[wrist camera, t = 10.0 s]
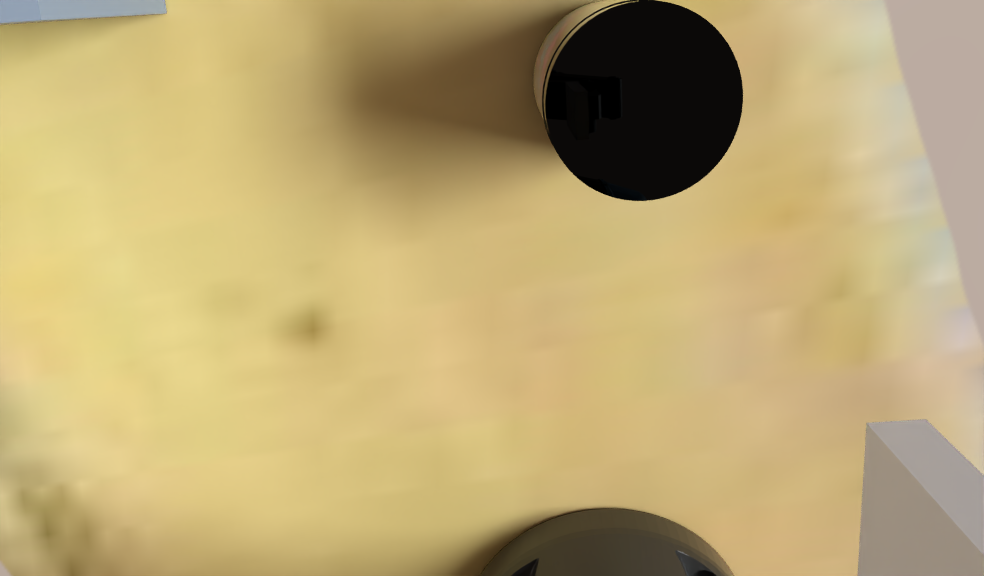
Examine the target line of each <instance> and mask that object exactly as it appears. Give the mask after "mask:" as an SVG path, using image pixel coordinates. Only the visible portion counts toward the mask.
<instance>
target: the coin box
mask: <svg viewBox="0 0 984 576" xmlns="http://www.w3.org/2000/svg"><path fill="white" fill-rule="evenodd" d="M165 13H167V11H166V4H165V0H0V25H4V24H18V23H33V22H48V21H62V20H77V19H92V18H106V17H121V16H136V15H150V14H165Z"/></svg>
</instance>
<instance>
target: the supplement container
mask: <svg viewBox="0 0 984 576" xmlns="http://www.w3.org/2000/svg"><path fill="white" fill-rule="evenodd" d="M533 87H534V94H535V99H536V103H537V106H538V109H539V111H540V113H541V115H542V118H543V120H544V123H545V127H546V130H547V133H548V136H549V138H550V140H551V143H552V145H553V146H554V148H555V150H556V152H557V153H558V155H559V157H560V158H561V160H562V161H563V163H564V164H565V165H566V167H567V168H568V169H569V170H570V171H571V172H572V173H573V174H574V175H575V176H576V177H577V178H578V179H579V180H581V181H582V182H583V183H585V184H586V185H587V186H589V187H591V188H593V189H594V190H596V191H598V192H600V193H603V194H605V195H608V196H611V197H614V198H618V199H623V200H632V201H647V200H655V199H660V198H665V197H668V196H671V195H674V194H677V193H679V192H681V191H683V190H685V189H687V188H689V187H691V186H692V185H694V184H696V183H697V182H699V181H700V180H701V179H702V178H704V177H705V176H706V175H707V174H708V173H709V172H710V171H711V170H712V169H713V168H714V167H715V166H716V165H717V164H718V163H719V162H720V160H721V159H722V158H723V156H724V155H725V153H726V152H727V150H728V148H729V147H730V145H731V143H732V141H733V139H734V136H735V134H736V132H737V129H738V125H739V122H740V118H741V113H742V104H743V88H742V79H741V74H740V70H739V67H738V64H737V61H736V58H735V56H734V54H733V52H732V50H731V48H730V46H729V45H728V43H727V42H726V40H725V39H724V37H723V36H722V35H721V34H720V33H719V31H718V30H717V29H716V28H715V27H714V26H713V25H712V24H710V23H709V22H708V21H707V20H706V19H704V18H703V17H701V16H700V15H698V14H697V13H695V12H693V11H691V10H689V9H687V8H684V7H682V6H679V5H676V4H672V3H668V2H662V1H656V0H627V1H622V0H605V1H598V2H594V3H590V4H587V5H584V6H582V7H579V8H577V9H576V10H574V11H572V12H570V13H569V14H567V15H566V16H565V17H564V18H562V19H561V20H560V21H559V22H558V23H557V24H556V25H555V26H554V27H553V28H552V29H551V31H550V32H549V33H548V35H547V36H546V38H545V39H544V41H543V43H542V45H541V47H540V50H539V52H538V55H537V58H536V61H535V66H534V74H533Z"/></svg>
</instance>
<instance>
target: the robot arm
mask: <svg viewBox="0 0 984 576" xmlns="http://www.w3.org/2000/svg"><path fill="white" fill-rule="evenodd" d="M480 576H734V575H733V573H732V571H731V570H730V568H729V566H728V565H727V564H726V562H725V561H724V560H723V558H722V557H721V556H720V555H719V554H718V553H717V552H716V551H715V550H714V549H713V548H712V547H711V546H710V545H709V544H708V543H707V542H706V541H704V540H703V539H702V538H701V537H699V536H698V535H696V534H695V533H693V532H692V531H690V530H688V529H687V528H685V527H683V526H681V525H679V524H677V523H675V522H673V521H670V520H668V519H665V518H662V517H659V516H656V515H653V514H649V513H645V512H639V511H634V510H624V509H596V510H587V511H580V512H575V513H571V514H567V515H563V516H560V517H557V518H554V519H551V520H549V521H546V522H544V523H542V524H539V525H537V526H535V527H533V528H532V529H530V530H528V531H526V532H525V533H523V534H521V535H520V536H518V537H517V538H516V539H514V540H513V541H511V542H510V543H509V544H508V545H507V546H505V547H504V548H503V549H502V550H501V551H500V552H499V553H498V554H497V555H496V556H495V557H494V558H493V559H492V560H491V561H490V563H489V564H488V565H487V566H486V568H485V569H484V570H483V572H482V573H481V575H480ZM858 576H984V475H983V474H982V473H981V472H980V471H979V470H978V469H977V468H976V467H975V466H974V465H973V464H972V463H971V462H970V461H968V460H967V459H966V458H965V457H964V456H963V455H962V454H961V453H960V452H959V451H958V450H957V449H956V448H955V447H954V446H953V445H952V444H951V443H950V442H949V441H948V440H947V439H946V438H945V437H944V436H943V435H942V434H941V433H940V432H939V431H938V430H936V429H935V428H934V427H933V426H932V425H931V424H930V423H929V422H928V421H927V420H926V419H923V420H906V421H890V422H873V423H866V440H865V457H864V474H863V492H862V509H861V526H860V544H859V561H858Z"/></svg>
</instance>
